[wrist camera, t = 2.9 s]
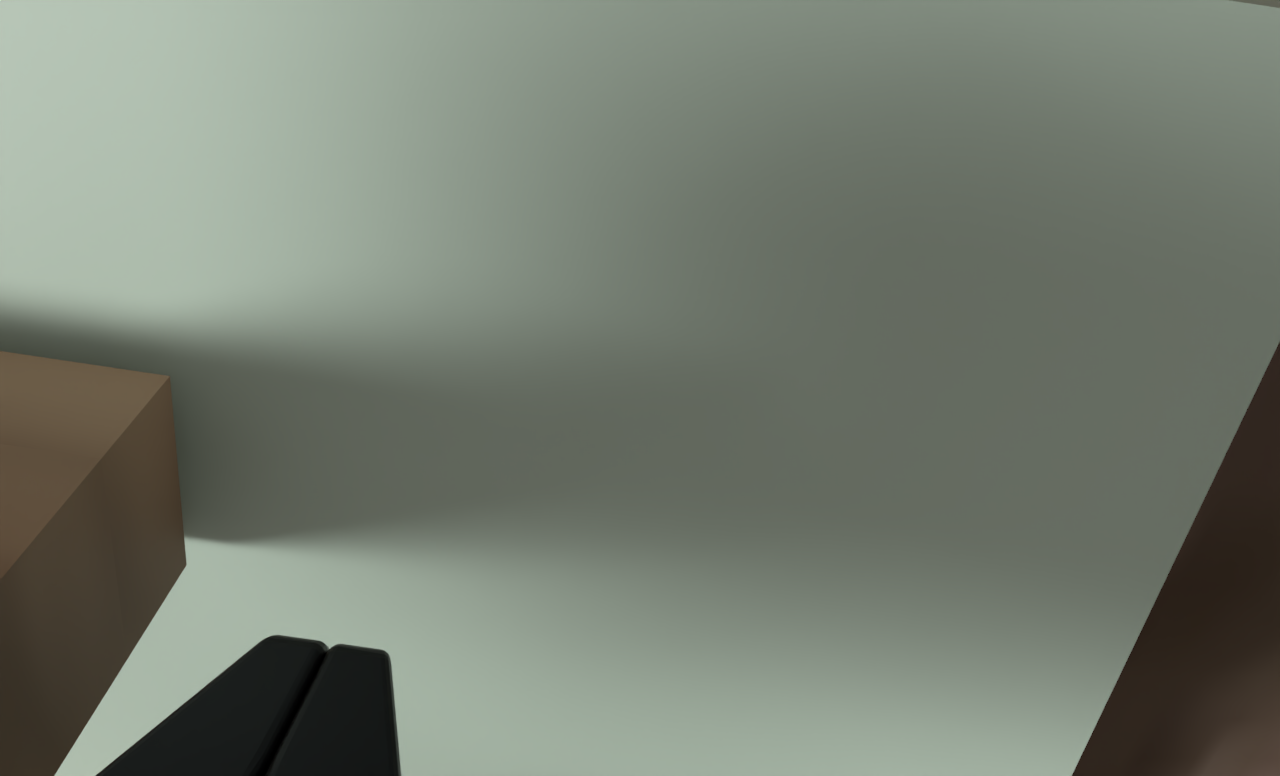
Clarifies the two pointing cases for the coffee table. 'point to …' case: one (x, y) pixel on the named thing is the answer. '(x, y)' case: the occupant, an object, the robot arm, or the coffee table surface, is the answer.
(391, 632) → the lid
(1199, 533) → the coffee table surface
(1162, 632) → the coffee table surface
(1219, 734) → the coffee table surface
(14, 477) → the brown wooden block
